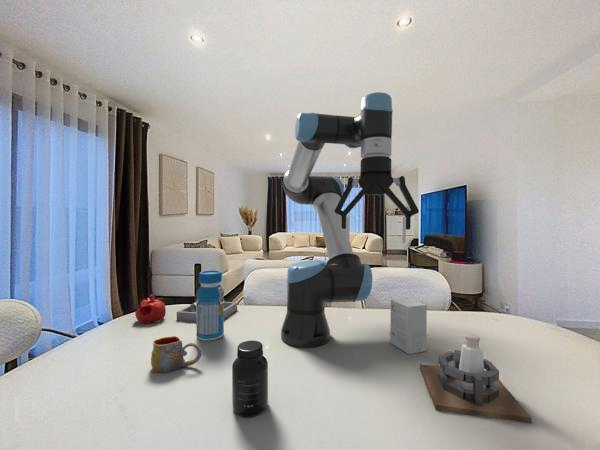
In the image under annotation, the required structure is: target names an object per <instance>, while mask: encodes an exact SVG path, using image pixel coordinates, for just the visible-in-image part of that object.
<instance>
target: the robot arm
mask: <svg viewBox="0 0 600 450" xmlns="http://www.w3.org/2000/svg"><path fill="white" fill-rule="evenodd" d="M360 103H361V104H360V113H359V114H358V115H357V116H350V115H349V116H348V115H334V114H326V113H325V114H324V113H315V112H301V113H299V114H298V115H297V117H296V120H295V126H294V136H295V138H296V140H297V141H298V142H297V145H296V147H295V150H294V154H293V157H292V160H291V163H290V166H289V168H288V171H286V173H285V174H284V176H283V179H282V189H283V191H284V194H285V195H286V196H287V198H289V199H290V201H293V202H294V203H296V204H299V205H310V206H311V205H312V208H313V211H315V212H316V213H317V214H318V219H319V222H320V226H321V227H320V228H321V230H322V235H323V240H324V244H325V248H326V251H327V252H326V253H327V257H328V259H327V261H326V262H325V261H324V260H320V259H316V260H315V259H312V260H303V261H299V262H295V263H292V264H291V265H290V266H288V269H287V272H286V273H287V274H286V276H287V277H286V288H287V289H286V314H285V318H284V320H283V323H282V327H281V328H280V329H281V330H280V339H281V340H282V342H284V343H286V344H287V345H290V346H293V347H297V348H298V347H299V348H315V347H319V346H323V345H325V344H327V343H328V342H330V340H331V330H330V327H329V323H328V320H327V316H326V314H325V313H326V311H325V304H326V303H350V302H351V303H352V302H353V303H355V302H360V301H366V299H368V298H369V296H370V295H371V292H372V287H373V273H372V269H371V267H370V265H369V264H367V263H362V260H361V258H360V256H359V255H358V254H357V253H355V252H354V251H353V248H352V244H351V241H350V222H351V221H350V216H348V214H349V213H350V212H351V210H353V209H354V207H355V206H357V204H358V203H359V202H360V200H361V199H362V198H363V197H364V196H365V195H367V196H375V195H376V196H383V195H386V196H387V197H388V199H390V201H391V202H392V203H393V204H394V206H396V208H397V209H398V210H399V211H400V212H401V213H402V214H403V215H404V216H401V217H400V223H401V224H400V244H406V243H407V242H406V240H407V236H406V235H407V230H411V219H412V216H414V215H417V214H419V212H420V210H419V209H418V206H417V205H416V203H415V200H414V199H413V197H412V195H411V193H410V190H409V189H408V187H407V185H406V178H405V176H404V175H401V176H399V177H393V175H392V159H391V156H392V143H393V142H392V141H393V140H392V135H393V134H392V133H393V110H394V109H393V104H392V103H393V100H392V97H391V95H390V94H389V93H387V92H386V93H385V92H380V91H379V92H372V93H369V94H366V95H365V96H363V97H362V99H361V102H360ZM325 144H335V145H344V146H346V147H347V148H349V149H358V148H360V157H361V159H360V171H359V173H360V176H359V178H353V177H352V176H351V177H350V176H349V177H348V179H347V186H346V187H344V183H343V182H342V180H341V179H340V178H339V177H336V176H329V175H327V176H319V175H311V173H312V171H313V169H314V167H315V165H316V162H317V161H318V158H319V156H320V154H321V152H322V150H323V148H324V146H325ZM357 184H358V185H359V186H360V187H361V190H359V192H358V194H356V196H355V197H354V198H353V199H352V201H351V202H350V203H349V204H348V205H347V206H346V207H345V209H344V210H342V209H343V207H344V205H345V203H346V201H347V199H348V197H349V196H350V193H351V192H352V189H353V188H355V186H356V185H357ZM393 184H395V185H396V186H397V187H399V189H400V193H401V194H402V196H403V197H404V200H405V202H406V204H407V206H408V207H409V209H410V210H409V209H408V208H407V207H406V206H405V204H404V203H402V201H401V200H400V199H399V198H398V197H397V195H396V194H395V193H394V192H393V191H392V189H391V188H390V187H391V186H392V185H393Z"/></svg>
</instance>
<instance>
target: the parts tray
mask: <svg viewBox="0 0 600 450" xmlns="http://www.w3.org/2000/svg"><path fill="white" fill-rule="evenodd" d="M224 302H225V303H224V320H225V319H227V318H229V316H231V315H232V314H233V313H235V312H237V311H238V302H236V301H235V302H232V301H224ZM176 321H179V322H180V321H182V322H190V323H191V322H193V323H197V312H191V311H190V305H188V306H186V307H184V308H182V309H180V310H178V311H176Z"/></svg>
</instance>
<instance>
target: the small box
mask: <svg viewBox="0 0 600 450" xmlns="http://www.w3.org/2000/svg"><path fill="white" fill-rule="evenodd" d="M427 306H428V305H427V304H425V303H422V302H419V301H417V300H414V299H410V298H405V297H403V298H393V299H392V298H391V299H390V327H389V328H390V330H389V331H390V332H389V333H390V338H389V342H390V344H391V345H393V346H395V347H396V348H398V349H400V350H401V351H403V352H405V353H406V354H408V355H413V354H418V353H422V352H426V351H427V335H428V334H427V323H428V322H427V321H428V320H427V319H428V317H427V313H428V312H427Z"/></svg>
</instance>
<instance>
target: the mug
mask: <svg viewBox="0 0 600 450" xmlns="http://www.w3.org/2000/svg"><path fill="white" fill-rule="evenodd" d="M152 345H153V349H152V351H151V357H150V365H151V369H150V370H149V371H150V373H160V374H161V373H169V372H172V371H175V370H177V369H180V368H186V367H189V366H192V365H194V364H196V363H197V362H199V360H200V359H201V357H202V349H201V347H200V346H199V345H198V344H196V343H195V342H194V343H193V342H189V343H186V344H185V345H184V346H183V342H182V340H181V339H180V337H179V336H176V335H175V336H165V337H161V338H157V339H155V340H153V341H152ZM189 347H193V348H195V349H196V352H197V355H196V356H195V358H194V359H191V360H185V358H184V357H186V356H187V355H188V352H187V350H186V348H189Z"/></svg>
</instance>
